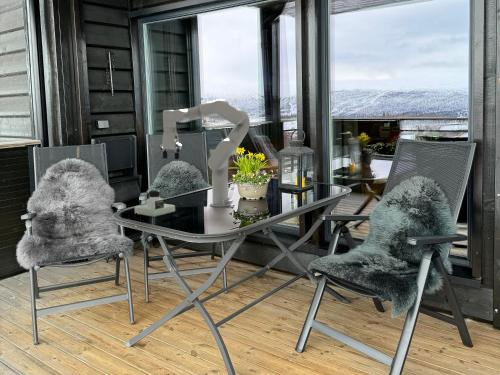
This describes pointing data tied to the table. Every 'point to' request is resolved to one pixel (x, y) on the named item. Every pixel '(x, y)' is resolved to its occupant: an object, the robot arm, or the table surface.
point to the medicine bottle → (154, 200)
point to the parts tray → (157, 212)
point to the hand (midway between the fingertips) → (171, 158)
